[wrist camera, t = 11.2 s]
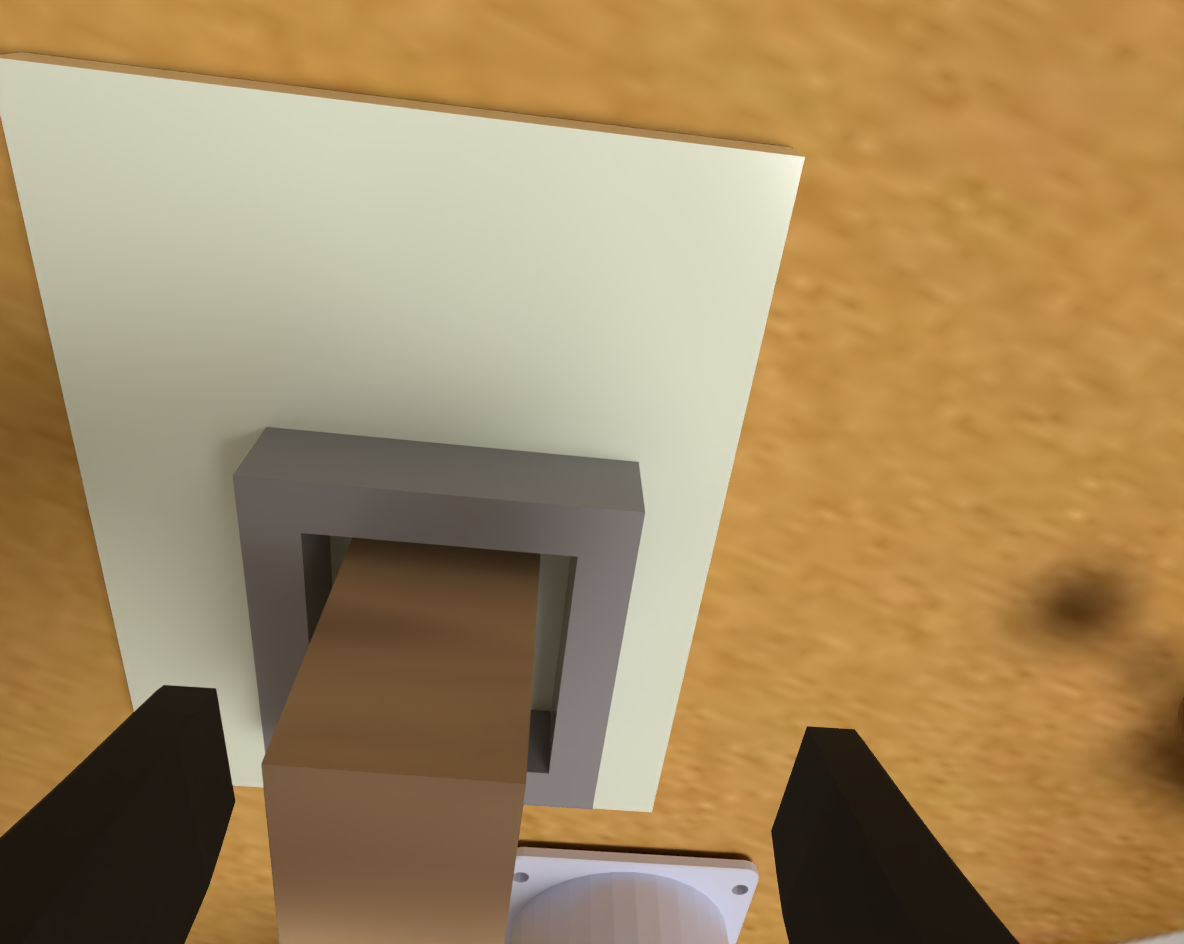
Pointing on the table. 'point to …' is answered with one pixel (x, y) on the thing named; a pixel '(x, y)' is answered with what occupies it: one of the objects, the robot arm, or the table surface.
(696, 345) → the board with square socket
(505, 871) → the brown wooden block
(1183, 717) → the toy figure
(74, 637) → the table surface
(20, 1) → the table surface
